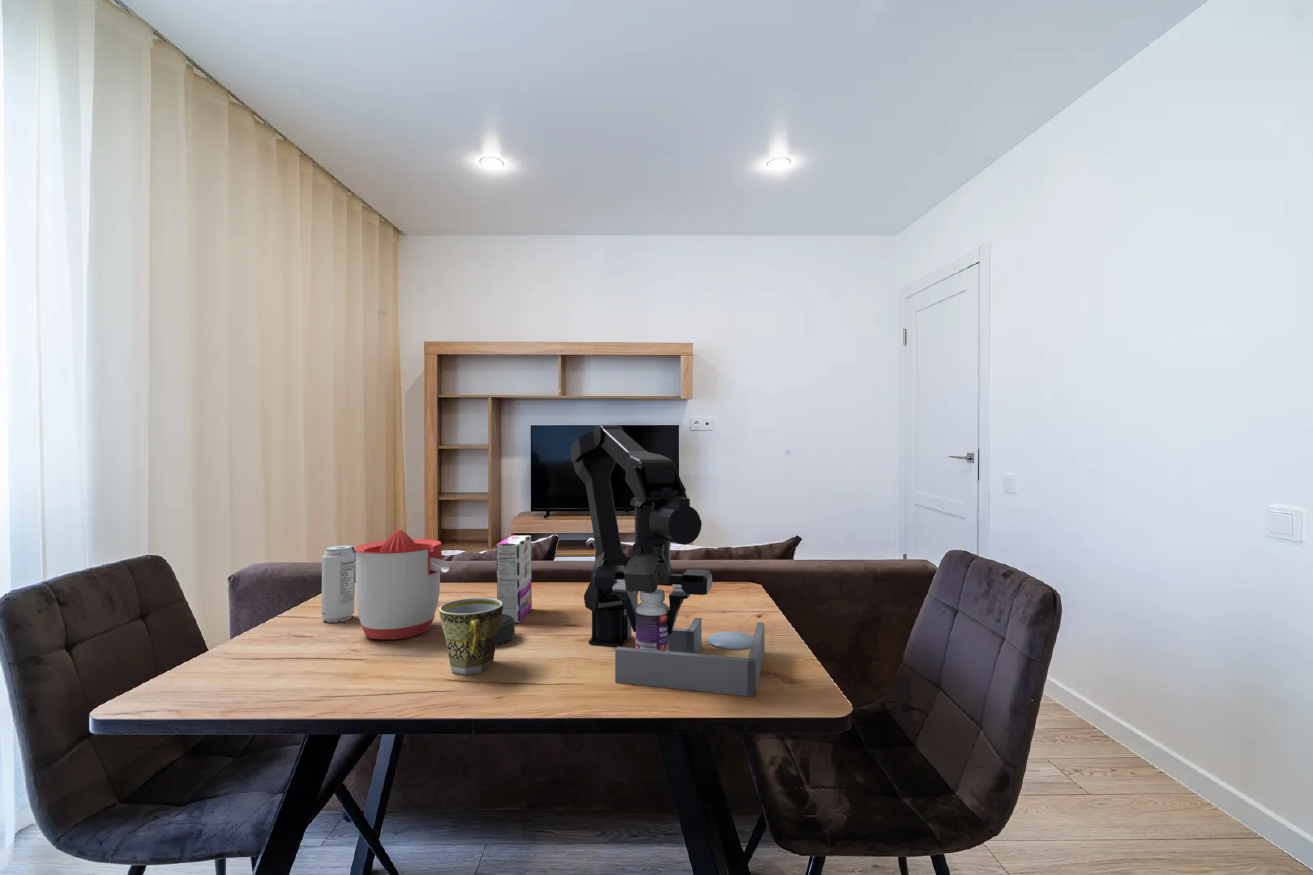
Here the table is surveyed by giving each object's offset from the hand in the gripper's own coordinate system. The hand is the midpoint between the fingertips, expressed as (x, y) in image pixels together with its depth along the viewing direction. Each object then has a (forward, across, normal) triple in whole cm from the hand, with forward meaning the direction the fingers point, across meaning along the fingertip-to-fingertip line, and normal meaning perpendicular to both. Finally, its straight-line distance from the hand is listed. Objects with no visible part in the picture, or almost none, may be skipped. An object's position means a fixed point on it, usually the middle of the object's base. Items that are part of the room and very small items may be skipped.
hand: (652, 632), depth 93 cm
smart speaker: (+6, -33, +7) cm, 35 cm away
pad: (+6, +11, +17) cm, 21 cm away
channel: (+6, +6, +4) cm, 9 cm away
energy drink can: (+6, -71, +11) cm, 72 cm away
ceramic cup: (+6, -28, -7) cm, 30 cm away
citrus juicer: (+6, -52, +7) cm, 53 cm away
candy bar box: (+6, -36, +22) cm, 43 cm away
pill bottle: (+3, 0, 0) cm, 3 cm away
